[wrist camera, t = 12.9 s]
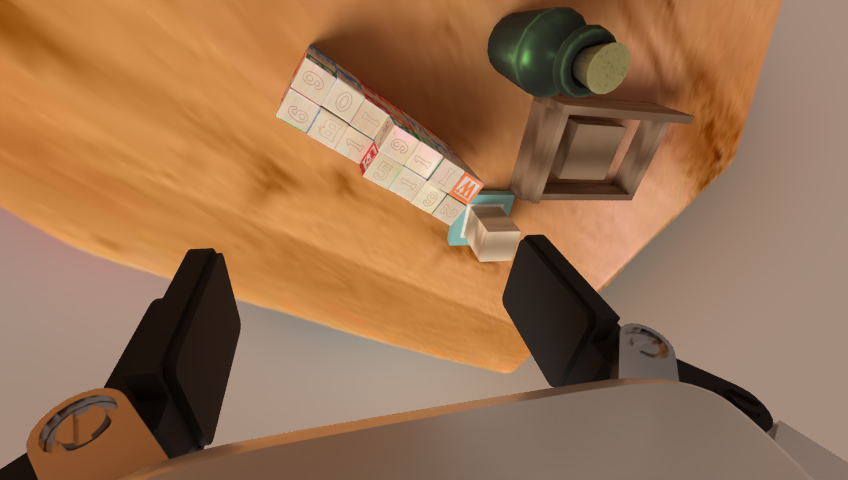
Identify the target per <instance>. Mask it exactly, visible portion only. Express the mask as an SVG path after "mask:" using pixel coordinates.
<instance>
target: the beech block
mask: <svg viewBox="0 0 848 480" xmlns="http://www.w3.org/2000/svg"><path fill="white" fill-rule="evenodd" d="M520 233H521V231H520V230H519V228H518V227H517V226H516V225H515V224H514V222H513V221H512V220H511V219H510V218H509V217H508V215H507V214H506V213H505V212H504V211H503V210H502V208H501V207H470V210H469V215H468V219H467V224H466V228H465V232H464V236H465V238H466V239H467V241H468V243H469V244H470V246H471V248H472V249H473V251H474V253H475V254H476V256H477V258H478V259H479V261H480V262H484V261H508V260H512V257H513V254H514V251H515V248H516V245H517V242H518V239H519V236H520Z"/></svg>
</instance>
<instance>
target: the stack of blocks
mask: <svg viewBox="0 0 848 480" xmlns="http://www.w3.org/2000/svg"><path fill="white" fill-rule="evenodd" d="M276 117H278V118H279V119H281V120H283V121H285V122H287V123H288V124H290V125H292V126H294V127H295V128H297V129H299V130H301V131H303V132H305V133H306V134H307V135H309V136H310V137H312V138H314V139H316V140H317V141H319V142H321V143H323V144H325V145H326V146H328V147H330V148H331V149H334V150H335V151H336V152H338V153H340V154H342V155H343V156H345V157H347V158H349V159H351V160H353V161H354V162H356V163H360V168H361V173H362V176H363V177H365V178H367V179H369V180H370V181H372V182H374V183H376V184H378V185H380V186H381V187H383V188H385V189H389V190H390V191H392V192H394V193H395V194H397V195H399V196H401V197H403V198H404V199H406V200H408V201H410V203H412V204H413V205H415V206H417V207H419V208H421V209H422V210H424V211H426V212H428V213H430V214H431V215H432V216H434V217H436V218H437V219H439V220H441V221H443V222H444V223H446V224H448V225H450V226H451V225H452V224H453V223H454V221H455V220H456V219H457V218H458V217H459V216H460V214H461V213H462V212H463V211H464V210H465V209H466V205H468V204H469V203H470V202H471V201H472V200H473V199H474V198H475V196H476V195H477V194H478V193H479V191H480V190H481V189H482V188H483V186H484V185H485V184H484V183H483V182H482V181H481V180H480V179H479V178H478V177H477V176H476V175H475V173H474V172H473V171H472V170H471V168H470V167H469V166H468V165H467V164H465V163H464V161H463V160H462V159H461V158H460V157H459V156H458V154H457V153H456V152H455V151H454V150H453V149H452V148H451V147H450V146H448V145H447V144H446V143H444V142H443V141H442V140H440V139H439V138H438V137H437V136H436V135H435V134H433V133H432V132H431V131H429V130H428V129H426V128H425V127H424V126H422V125H421V124H420V123H418V122H417V121H416V120H414V119H413V118H412V117H410V116H409V115H408V114H406V113H405V112H403V111H402V110H399V109H397V108H396V107H395V106H394V105H392V104H391V103H389V102H388V101H387V100H385V99H384V98H383V97H381V96H379V95H377V94H376V93H375V92H374V91H372V90H371V89H369V88H368V87H367V86H365V85H364V84H362V83H361V82H360V81H359V80H358V79H357V78H356V77H355V76H353V75H352V74H351V73H349V72H348V71H347V70H345V69H344V68H342V67H341V66H340V65H338V64H337V63H335V62H333V61H332V60H331V59H329V58H328V57H327V56H325V55H324V54H322V53H321V52H320V51H318V50H317V49H315V48H314V47H313V46H311V45H309V46H308V48H307V50H306V52H305V54H304V56H303V58H302V60H301V62H300V64H299V65H298V67H297V69H296V71H295V73H294V75H293V76H292V78H291V80H290V82H289V84H288V86H287V88H286V91H285V93H284V95H283V98H282V100H281V104H280V106H279V108H278V111H277V113H276Z"/></svg>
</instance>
